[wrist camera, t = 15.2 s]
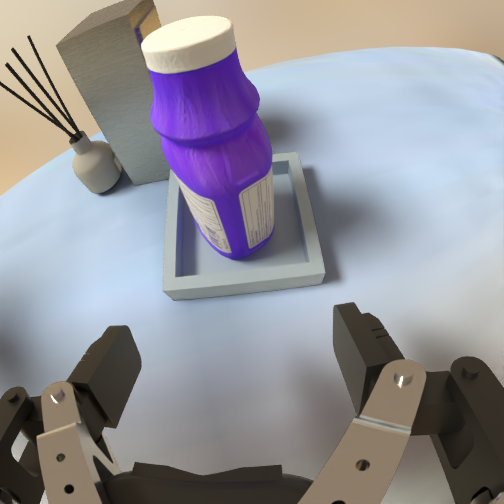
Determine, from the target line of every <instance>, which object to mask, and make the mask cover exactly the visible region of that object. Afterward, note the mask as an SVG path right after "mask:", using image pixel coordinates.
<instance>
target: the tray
mask: <svg viewBox="0 0 504 504" xmlns="http://www.w3.org/2000/svg"><path fill="white" fill-rule="evenodd" d="M272 168H273V195H274V231H273V234H272V236H271V238H270V239H269V241H268V242H267V243H266V244H265V245H263V246H262V247H261V248H259V249H258V250H256V251H255V252H253V253H252V254H251V255H249V256H247V257H244V258H241V259H233V260H232V259H229V258H226V257H224V256H222V255H221V254H219V253H218V252H217V251H216V250H214V249H213V248H212V247H211V246H210V244H209V243H208V242H207V241H206V240H205V238H204V237H203V236H202V234H201V233H200V231H199V229H198V228H197V226H196V224H195V221H194V219H193V215H192V213H191V211H190V208H189V206H188V204H187V202H186V199H185V197H184V195H183V193H182V190H181V188H180V186H179V183H178V181H177V179H176V177H175V175H174V172H173V171H172V169H170V177H169V188H168V199H167V211H166V225H165V241H164V263H163V292H164V293H165V294H167V295H168V296H169V297H170V298H171V299H172V300H185V299H196V298H207V297H218V296H227V295H237V294H246V293H256V292H264V291H273V290H281V289H289V288H297V287H305V286H313V285H320V284H321V283H322V281H323V278H324V276H325V268H324V263H323V258H322V253H321V248H320V243H319V239H318V234H317V229H316V225H315V220H314V216H313V212H312V207H311V203H310V199H309V195H308V191H307V187H306V183H305V179H304V175H303V171H302V167H301V163H300V159H299V156H298V152H289V153H278V154H272Z"/></svg>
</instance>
